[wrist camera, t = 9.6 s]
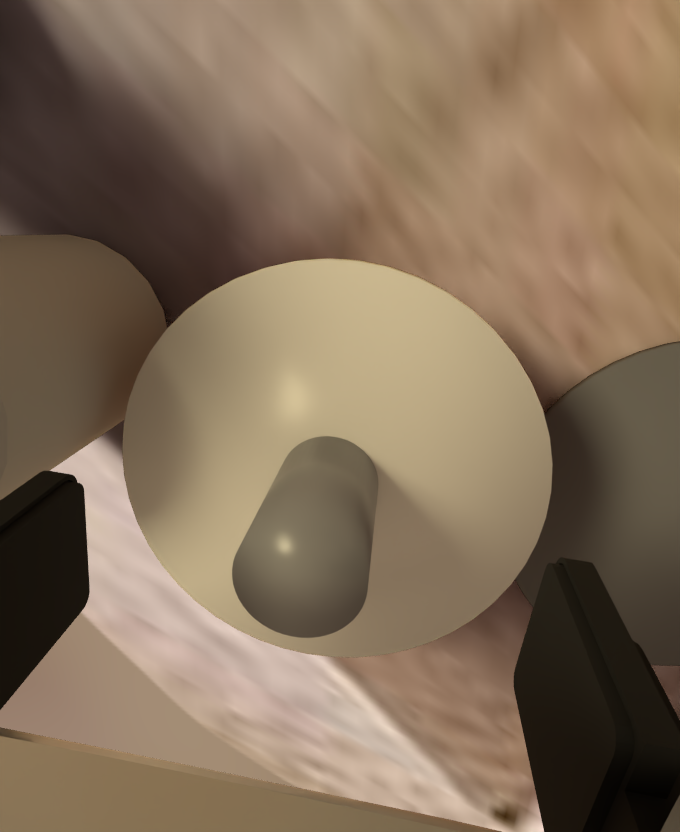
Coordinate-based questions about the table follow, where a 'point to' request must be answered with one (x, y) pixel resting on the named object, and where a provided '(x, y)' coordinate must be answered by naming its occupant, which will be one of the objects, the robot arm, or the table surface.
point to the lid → (337, 458)
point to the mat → (620, 493)
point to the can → (66, 347)
